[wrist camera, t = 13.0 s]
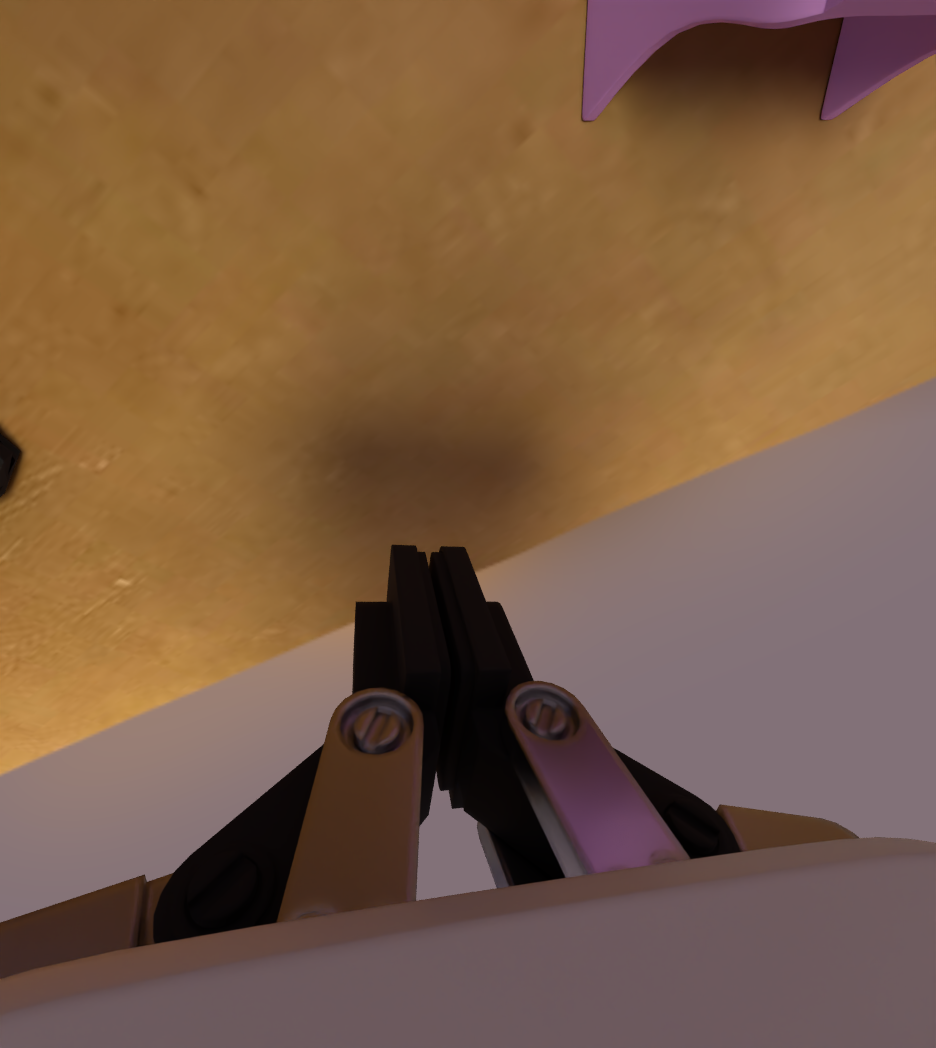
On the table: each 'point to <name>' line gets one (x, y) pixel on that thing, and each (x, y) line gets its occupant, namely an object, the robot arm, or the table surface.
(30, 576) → the table surface
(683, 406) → the table surface
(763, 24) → the chair
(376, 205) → the table surface
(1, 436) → the hairbrush
